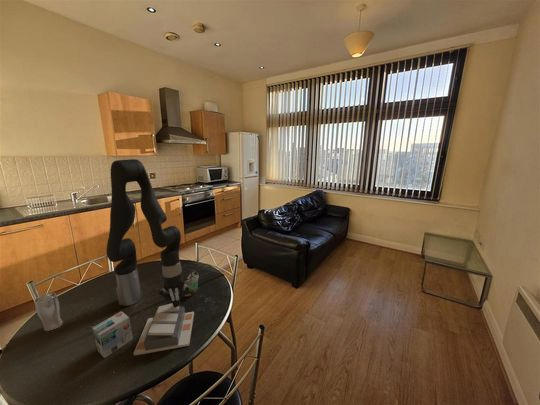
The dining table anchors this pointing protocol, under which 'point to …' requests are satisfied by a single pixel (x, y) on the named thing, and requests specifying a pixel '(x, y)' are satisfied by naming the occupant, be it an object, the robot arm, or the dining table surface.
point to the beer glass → (48, 311)
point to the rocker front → (161, 329)
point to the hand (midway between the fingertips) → (177, 306)
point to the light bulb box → (112, 334)
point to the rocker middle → (165, 318)
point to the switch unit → (166, 341)
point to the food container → (192, 283)
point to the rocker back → (167, 308)
